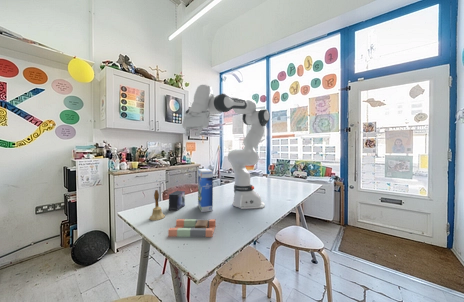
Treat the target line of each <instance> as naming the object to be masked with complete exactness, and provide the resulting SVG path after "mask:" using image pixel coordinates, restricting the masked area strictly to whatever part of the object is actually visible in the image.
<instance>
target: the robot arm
mask: <svg viewBox="0 0 464 302" xmlns="http://www.w3.org/2000/svg"><path fill="white" fill-rule="evenodd" d="M257 106H258V105H257V102H256V101H255V100H253V99H251V98H247V97H232V96H230V95H229V94H227V93H224V92H223V93H220V94H218V95H215V94H214V92H213V90H212V86H210V85H208V84H200V85H198V86H197V88H196V89H195V93H194V96H193V101H192V103H191V106H190V107H189V108H187V110H185V113H184V118H183V121H182V125H181V126H182V128H183V129H185V135H184V136H186V137H190V135H191V133H190V131H191V130H194V129H196V131H195V132H194V133H195V136H196V137H199V136H200V134H201V132H202V131H203V129H208V127H209V123H210V118H211V117H210V115H216V114H221V113H228V112H230V111H231V110H233V112H234V113H235V114H237V115H242V122H243V123H244V124H245V125H247V126H251V127H250V129H249V130H248V132H247V133H246V135H245V137H244V138H243V141H242V143H243V145H244V147H243V148H242V149H233V150H231V151H229V152H228V154H227V161H228V162H229V163H230V165H231V167H232V169H233V175H234V184H233V192H234V194H233V201H232V206H233V207H236V208H239V209H242V210H246V209H247V210H249V209H263V208H265V205H266V204H265V202H264V201H263V200H262V197H261V195H260V194H259V193H257V191H255V186H253V184H251V173H250V172H249V170H247V167H250V166H255V165H257V164H258V162H259V159H260V157H259V153H258V152H257V149H258V146H259V144H260V142H261V140H262V139H263V135H264V133H265V128H264V127H266V125H267V124H268V122H269V121H270V119H271V113H270V111H269V110H268V109H265V108H260V109H257ZM246 166H247V167H246Z"/></svg>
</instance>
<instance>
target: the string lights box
mask: <svg viewBox="0 0 464 302" xmlns="http://www.w3.org/2000/svg"><path fill="white" fill-rule="evenodd" d="M213 175H214V171H213V170H211V169H209V168H198V169H197V200H198V201H197V206H198V208H199V210H200V212H201V213H206V212H213V209H214V208H213V204H214V203H213V201H214V199H213V196H214V195H213V194H214V193H213V192H214V191H213V188H214V187H213V184H214V181H213V180H214V176H213Z"/></svg>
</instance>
